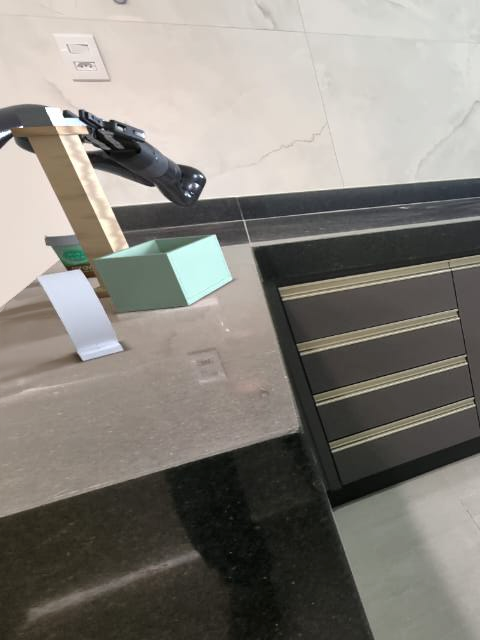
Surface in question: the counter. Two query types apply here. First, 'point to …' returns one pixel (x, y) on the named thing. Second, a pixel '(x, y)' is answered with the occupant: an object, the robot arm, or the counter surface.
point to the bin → (163, 272)
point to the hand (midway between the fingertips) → (73, 114)
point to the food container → (70, 253)
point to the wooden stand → (77, 190)
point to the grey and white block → (45, 117)
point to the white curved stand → (81, 313)
